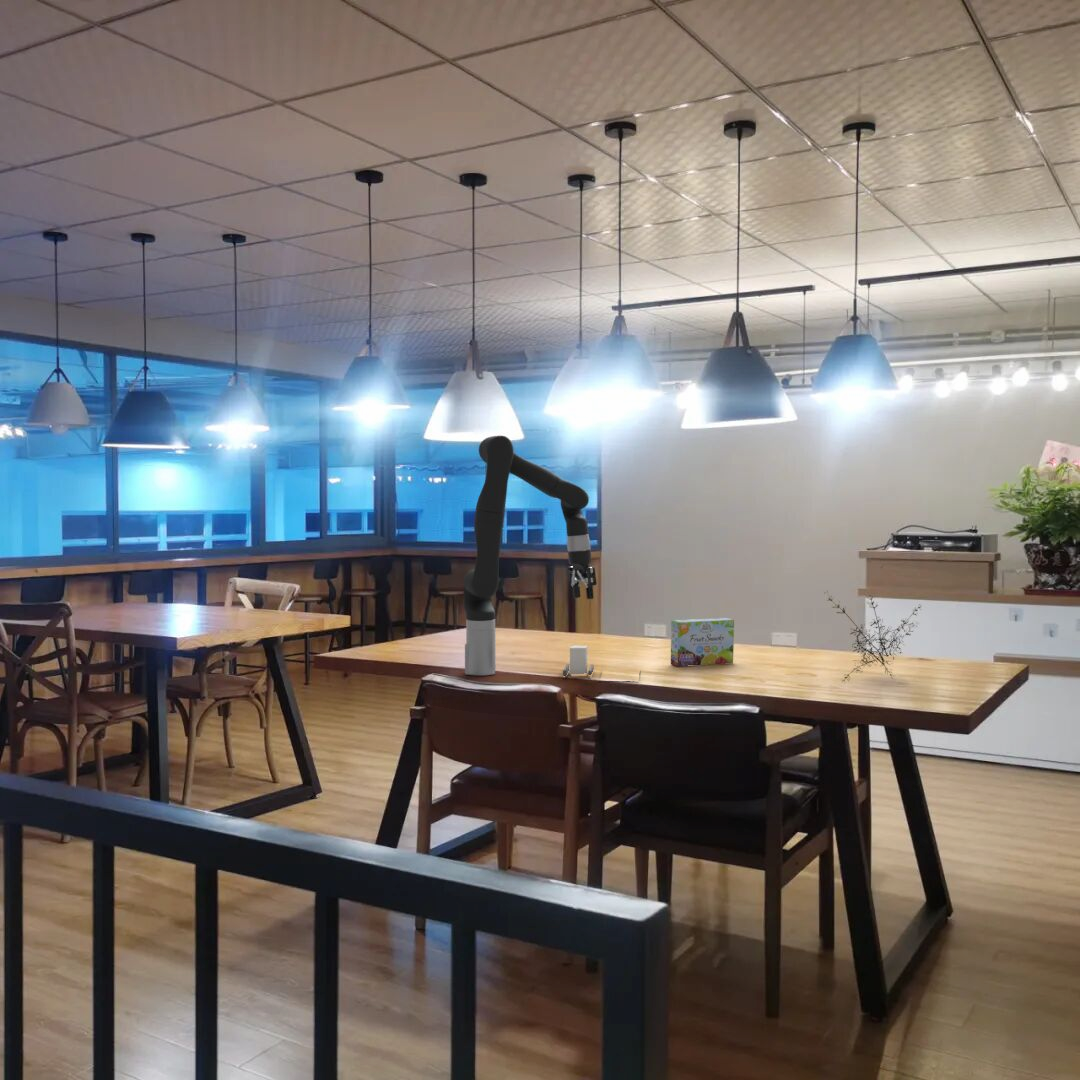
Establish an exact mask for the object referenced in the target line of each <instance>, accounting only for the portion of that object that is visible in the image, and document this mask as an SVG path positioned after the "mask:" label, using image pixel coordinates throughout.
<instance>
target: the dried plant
mask: <svg viewBox="0 0 1080 1080" xmlns="http://www.w3.org/2000/svg"><path fill="white" fill-rule="evenodd" d="M826 593H827V595H828V596H829V597H828V599H827V601H831V602H833V604H835V606H832V608H836V609H840V610H841V611H842V612H841V611H836V614H845V615H846V617H848V619H849V620H850V621H851V622H852V623H853V624H854V626H856V628H850V630H851V631H850V632H851V633H849V634H850V635H854V636H855V637H856V640H855V641H854V642H855V643H852V644H851V645H852V646H851V647H852V648H855V649H854V650H853V651H852V652H855V651H857V653H860V655H861V656H860V659H859V660H860V661H859V664H861V665H857V666H856V664H857V660H855V659H854V660H853V662H854V663H855V664H854V666H855V668H853V667H852V670H851V672H850V673H848V674H846V675H844V676H843V677H844V679H841V683H844V682H846V680H847V682H850V680H851V677H850V674H853V672H854V671H855V670H856V671H855V673H858V672H859V673H860V674H862V673H863V668H861V667H862V666H868V667H871V666H872V664H874V663H875V662H876V663H877V664H878V662H880V664H881V665H880V666H883V667H884V669H885V671H884V673H885V674H886V675H888V673H889V677H890V676H891V678H893V677H895V675H894V674H893V669H891V668H889V669H888V667H886V665H890V666H891V665H893V662H892V661H894V660H895V657H894V656H898V654H903V652H902V651H901V647H899V645H900V644H902V645H904V646H905V644H904V641H903V638H904V637H905V636H911V635H912V634H911V633H910V632H912V633H913V632H914V630H911V628H916V627H917V625H919V623H920V622H917V625H916V623H915V624H914V621H912V622H911V623H909V622H910V621H909V619H910V618H911V616H913V615H914V616H916V617H917V616H918V615H917V614H918V609H919V610H920V611H921V610H922V609H921V608H922V606H923V605H921V604H919V605H918V607H917V608H914V610H913V611H912V614H911V615H910V616H909V617H908V618H906V617H905V620H904V619H901V620H900V621H901V622H902V623H901V624H900V625H898V626H897V628H896V629H893V630H892V627H890V626H891V625H889V626H888V627H887V629H886V630H885V628H886V625H882V624H883V620H884V618H882V619H881V618H880V616H877V613H876V610H875V609H876V608H877V607H878V606H879V604H878V602H876V605H875V606H874V604H875V600H873V599H875V598H876V597H875V596H874V597H873V596H872V595H871V594H870V595H869V597H868V599H869V600H871V603H870V602H869V601H867V604H868V605H870V606H869V608H871V609H873V611H874V615H875V617H876V620H875V618H874V619H873V622H872V621H871V622H870V627H872V626H873V628H875V629H878V632H877V631H875V633H874V634H872V636H871V633H868V632H871V630H866V629H865V630H864V627H865V625H866V624H865V623H864V624H862V623H861V624H860V627H859V626H858V625H857V624H856V623H855V622H854V620H853V619H852V618H851V617H850V616H849V615H848V613H846V609H845V608H844V607H842V608H841V607H840V603H841V601H838V603H839V604H838V605H837V604H836V603H835V602H834V600H833V599H834V596H832V595H830V594H829V593H828V591H826V592H825V591H824V594H826ZM832 597H833V598H832ZM872 600H873V601H872ZM915 612H916V613H915ZM906 620H907V621H906ZM880 621H881V623H879V622H880ZM874 625H876V626H874ZM905 626H908V629H909V630H908V629H906V630H905V628H904V627H905ZM901 629H902V630H903V632H905V635H902V634H901V633H900V632H901ZM884 630H885V631H884ZM907 630H908V631H907ZM882 631H884V632H882ZM892 632H893V633H892ZM895 632H896V633H895ZM889 633H891V635H889V637H890V639H891V640H889V639H887V638H886V636H887V635H888V634H889ZM898 633H900V634H899V636H898ZM865 635H866V636H865ZM876 635H877V636H878V637H877V636H876ZM860 636H863V637H862V638H861V639H864V640H861V641H859V637H860ZM875 636H876V637H875ZM876 638H877V639H876ZM873 642H876V643H878V644H879V647H878V648H877V647H875V645H874V644H873ZM889 642H890V643H889ZM888 643H889V644H888ZM856 644H857V645H856ZM887 644H888V645H887ZM893 644H894V645H893ZM854 645H856V646H854ZM886 645H887V646H886ZM864 646H865V647H864ZM867 647H870V648H869V649H867ZM873 648H874V649H875V650H873ZM860 650H861V652H860ZM887 650H888V651H887ZM867 652H868V653H867ZM891 652H892V653H891ZM895 652H897V655H896V653H895ZM877 655H878V656H877ZM889 656H891V657H893V659H892V660H885V657H886V658H887V657H889ZM870 657H871V658H872V659H871V658H870ZM855 661H856V662H855ZM888 662H892V663H888ZM871 663H872V664H871ZM877 664H875V666H877V667H878V665H877ZM889 670H890V671H889Z"/></svg>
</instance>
